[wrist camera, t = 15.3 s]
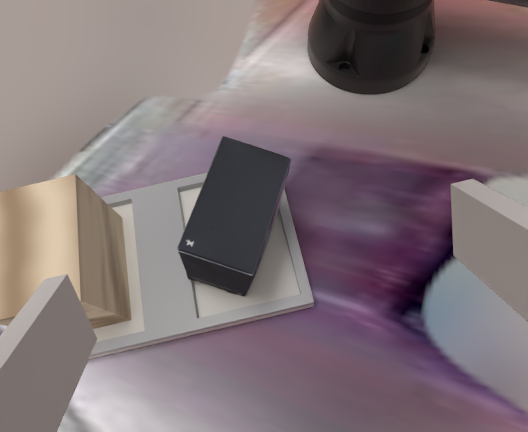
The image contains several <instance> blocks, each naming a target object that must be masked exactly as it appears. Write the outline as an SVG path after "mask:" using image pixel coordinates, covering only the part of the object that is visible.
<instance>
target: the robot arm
mask: <svg viewBox="0 0 528 432" xmlns="http://www.w3.org/2000/svg"><path fill="white" fill-rule="evenodd" d="M489 1H495V2H500V3H505V4H511V5H516V6H522V7H527V8H528V0H489ZM434 41H435V15H434V0H319V3H318V5H317V7H316V10H315V12H314V15H313V17H312V19H311V22H310V25H309V30H308V54H309V58H310V60H311V63H312V65H313V66H314V68H315V69H316V71H317V72H318V73H319V74H320V75H321V76H322V77H323V78H324V79H325V80H327V81H328V82H330V83H331V84H333V85H335V86H337V87H339V88H341V89H344V90H347V91H351V92H356V93H364V94H375V93H384V92H388V91H392V90H395V89H398V88H400V87H402V86H404V85H406V84H408V83H410V82H411V81H412V80H414V79H415V78H416V77H417V76H418V75H419V74H420V73H421V72H422V71H423V69H424V68H425V66H426V64H427V62H428V60H429V57H430V54H431V52H432V49H433V46H434ZM451 207H452V231H453V255H454V256H455V257H456V258H457V259H458V260H459V261H460V262H461V263H463V264H464V265H465V266H466V267H467V268H468V269H469V270H470V271H472V272H473V273H474V274H475V275H476V276H477V277H478V278H479V279H481V280H482V281H483V282H484V283H485V284H486V285H487V286H488V287H489V288H491V289H492V290H493V291H494V292H495V293H496V294H497V295H499V297H501V298H502V299H503V300H504V301H505V302H506V303H507V304H508V305H510V306H511V307H512V308H513V309H514V310H515V311H516V312H517V313H518V314H520V315H521V316H522V317H523V318H524V319H525V320H526V321H527V322H528V207H527V206H525V205H523V204H521V203H519V202H517V201H515V200H513V199H511V198H509V197H507V196H505V195H503V194H501V193H499V192H497V191H495V190H494V189H492V188H490V187H488V186H486V185H484V184H482V183H480V182H478V181H476V180H474V179H470V180H465V181H461V182H457V183H453V184H451ZM96 341H97V337H96V335H95V333H94V330H93V328H92V326H91V324H90V322H89V320H88V317H87V315H86V313H85V311H84V309H83V307H82V304H81V302H80V300H79V298H78V296H77V294H76V291H75V289H74V287H73V285H72V283H71V281H70V278H69V276H68V274H64V275H60V276H56V277H51V278H47V279H45V280H44V281H43V282H42V283H41V285H40V286H39V287H38V288H37V290H36V291H35V292H34V294H33V295H32V296H31V297H30V299H29V300H28V301H27V303H26V304H25V305H24V306H23V308H22V309H21V310H20V311H19V313H18V314H17V315H16V317H15V318H14V319H13V320H12V322H11V323H10V324H9V325H8V327H7V328H6V329H5V331H4V332H3V333H2V334H1V336H0V432H57V430H58V427H59V425H60V423H61V421H62V418H63V416H64V414H65V412H66V409H67V407H68V405H69V402H70V400H71V398H72V396H73V393H74V391H75V389H76V386H77V384H78V382H79V380H80V377H81V375H82V373H83V371H84V368H85V366H86V364H87V361H88V359H89V357H90V355H91V352H92V350H93V348H94V346H95V343H96Z"/></svg>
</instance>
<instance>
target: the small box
mask: <svg viewBox="0 0 528 432" xmlns="http://www.w3.org/2000/svg"><path fill="white" fill-rule="evenodd" d="M290 163H291V159H290V158H288V157H285V156H283V155H280V154H277V153H274V152H271V151H268V150H264V149H262V148H259V147H255V146H252V145H249V144H246V143H243V142H240V141H237V140H234V139H231V138H228V137H224V136H223V137H222V139H221V141H220V144H219V146H218V149H217V151H216V154H215V156H214V158H213V161H212V163H211V166H210V168H209V171H208V173H207V176H206V178H205V180H204V183H203V185H202V188H201V190H200V193H199V195H198V198H197V200H196V203H195V205H194V208H193V210H192V212H191V215H190V217H189V220H188V222H187V225H186V227H185V230H184V232H183V235H182V237H181V240H180V242H179V244H178V247H177V250H178V253H179V255H180V258H181V260H182V263H183V265H184V268H185V270H186V274H187V277H188V279H191V280H193V281H199V282H200V283H204V284H207V285H210V286H214V287H216V288H218V289H222V290H225V291H226V292H229V293H233V294H237V295H241V296H246V294H247V292H248V290H249V288H250V286H251V284H252V281H253V279H254V277H255V274H256V272H257V269H258V267H259V264H260V262H261V259H262V256H263V253H264V251H265V248H266V245H267V243H268V240H269V237H270V234H271V231H272V228H273V225H274V222H275V218H276V215H277V212H278V209H279V205H280V202H281V198H282V195H283V191H284V188H285V184H286V180H287V176H288V172H289V167H290Z"/></svg>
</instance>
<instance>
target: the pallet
mask: <svg viewBox="0 0 528 432" xmlns="http://www.w3.org/2000/svg"><path fill="white" fill-rule="evenodd" d="M207 173H208V172H207ZM207 173H203V174H198V175H194V176H190V177H186V178H181V179H177V180H173V181H169V182H164V183H160V184H156V185H151V186H147V187H143V188H139V189H134V190H130V191H126V192H121V193H117V194H113V195H109V196H104V197H100V198H102V199H103V200H104V201H105V202H106V203H107V204H108V205H109V206H110V207H111V208H112V209H113V210H115V211H116V212H117V213H118V214H119V215H120V216H121V217H122V218H123V228H124V239H125V251H126V262H127V273H128V284H129V296H130V307H131V318H132V320H130V321H125V322H121V323H117V324H113V325H108V326H104V327H100V328H95V329H93V330H94V333H95V335H96V337H97V341H96V343H95V346H94V348H93V350H92V352H91V355H90V357H89V359H93V358H97V357H102V356H106V355H110V354H114V353H119V352H123V351H127V350H131V349H136V348H140V347H144V346H149V345H153V344H157V343H161V342H166V341H170V340H174V339H178V338H183V337H187V336H191V335H195V334H200V333H204V332H208V331H212V330H217V329H221V328H225V327H229V326H234V325H238V324H242V323H246V322H251V321H255V320H259V319H263V318H268V317H272V316H276V315H280V314H285V313H289V312H293V311H298V310H302V309H306V308H310V307H313V306H314V300H313V296H312V292H311V288H310V285H309V281H308V277H307V273H306V270H305V266H304V262H303V258H302V254H301V251H300V247H299V243H298V239H297V235H296V232H295V228H294V224H293V220H292V216H291V213H290V209H289V205H288V201H287V197H286V194H285V190H284V191H283V195H282V198H281V202H280V205H279V209H278V212H277V215H276V218H275V222H274V225H273V228H272V231H271V234H270V237H269V240H268V243H267V245H266V248H265V251H264V253H263V256H262V259H261V262H260V264H259V267H258V269H257V272H256V274H255V277H254V279H253V281H252V284H251V286H250V288H249V290H248V292H247V294H246V296H241V295H237V294H233V293H229V292H226V291H225V290H222V289H218V288H216V287H214V286H210V285H207V284H204V283H200V282H199V281H193V280H191V279H188V277H187V274H186V270H185V268H184V265H183V263H182V260H181V258H180V255H179V253H178V250H177V247H178V244H179V242H180V240H181V237H182V235H183V232H184V230H185V227H186V225H187V222H188V220H189V217H190V215H191V212H192V210H193V208H194V205H195V203H196V200H197V198H198V195H199V193H200V190H201V188H202V185H203V183H204V180H205V178H206V176H207ZM89 359H88V360H89Z"/></svg>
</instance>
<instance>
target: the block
mask: <svg viewBox="0 0 528 432" xmlns="http://www.w3.org/2000/svg"><path fill="white" fill-rule="evenodd" d="M64 274H68V276H69V278H70V281H71V283H72V285H73V287H74V289H75V291H76V294H77V296H78V298H79V300H80V302H81V304H82V307H83V309H84V311H85V313H86V315H87V317H88V320H89V322H90V324H91V326H92V328H93V329H95V328H100V327H104V326H108V325H113V324H117V323H121V322H125V321H130V320H132V318H131V307H130V296H129V284H128V273H127V262H126V251H125V239H124V228H123V218H122V217H121V216H120V215H119V214H118V213H117V212H116V211H115V210H113V209H112V208H111V207H110V206H109V205H108V204H107V203H106V202H105V201H104V200H103V199H102V198H100V197H99V196H98V195H97V194H96V193H95V192H94V191H93V190H92V189H91V188H90V187H89V186H87V185H86V184H85V183H84V182H83V181H82V180H81V179H80V178H79V177H78V176H77V175H76V174H75V175H70V176H66V177H62V178H58V179H53V180H49V181H45V182H40V183H36V184H32V185H28V186H23V187H19V188H15V189H11V190H6V191H2V192H0V324H1V325H6V326H8V325H9V324H10V323H11V322H12V320H13V319H14V318H15V317H16V315H17V314H18V313H19V311H20V310H21V309H22V308H23V306H24V305H25V304H26V303H27V301H28V300H29V299H30V297H31V296H32V295H33V294H34V292H35V291H36V290H37V288H38V287H39V286H40V285H41V283H42V282H43V281H44V280H45V279H47V278H51V277H56V276H60V275H64Z"/></svg>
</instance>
